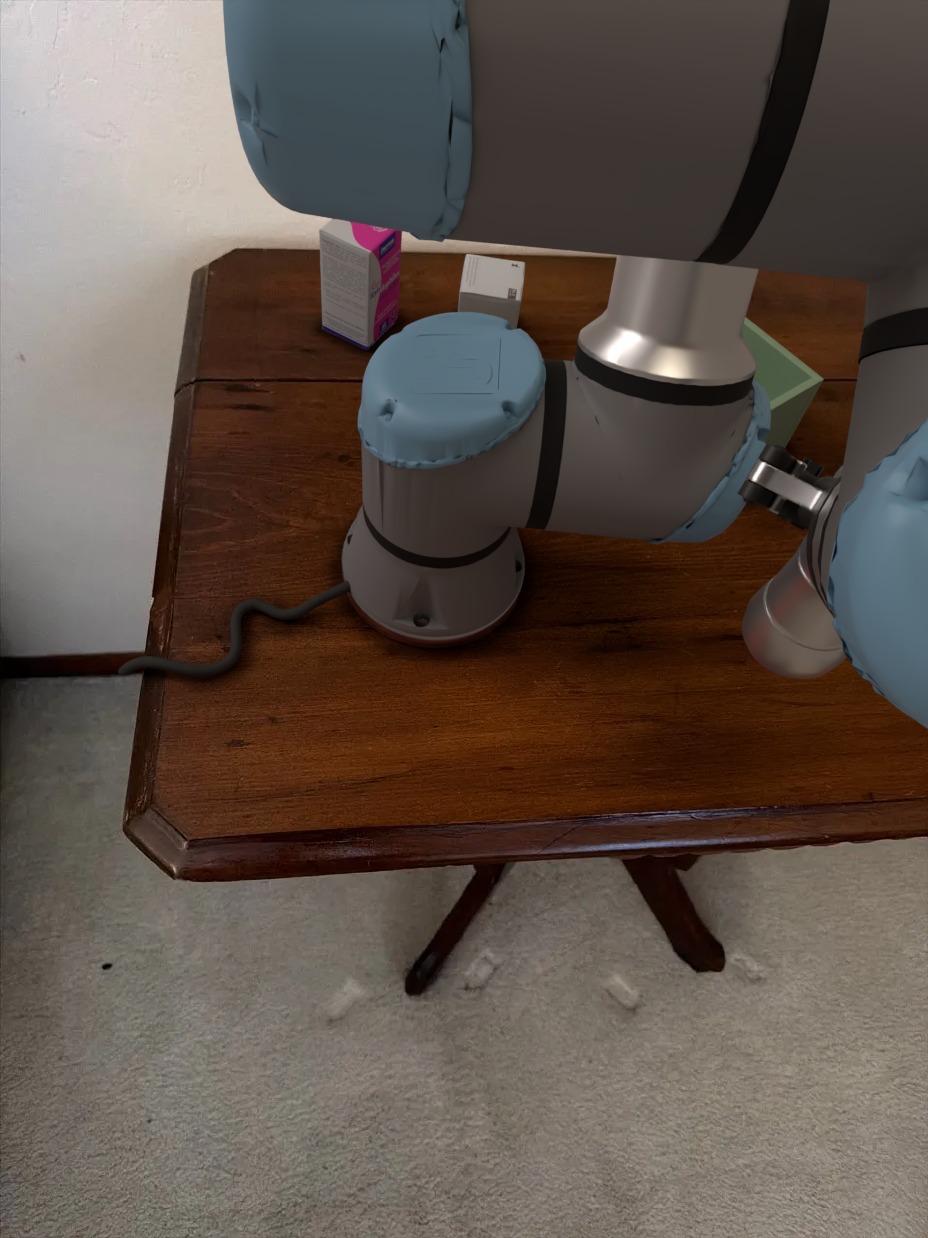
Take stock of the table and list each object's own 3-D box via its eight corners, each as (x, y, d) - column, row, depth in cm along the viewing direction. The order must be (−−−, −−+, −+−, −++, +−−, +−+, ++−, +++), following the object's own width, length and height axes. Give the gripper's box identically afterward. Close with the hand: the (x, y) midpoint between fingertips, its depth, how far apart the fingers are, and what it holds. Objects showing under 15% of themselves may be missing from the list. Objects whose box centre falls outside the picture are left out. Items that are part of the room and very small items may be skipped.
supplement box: (369, 353, 88) (369, 252, 79) (320, 329, 90) (314, 227, 80) (400, 321, 91) (403, 220, 81) (353, 299, 92) (350, 197, 83)
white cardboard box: (459, 313, 93) (465, 251, 86) (516, 320, 93) (526, 259, 86) (453, 352, 89) (458, 291, 83) (512, 360, 89) (522, 299, 83)
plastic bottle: (834, 702, 55) (1040, 499, 38) (728, 678, 56) (886, 466, 39) (832, 617, 59) (1020, 397, 42) (732, 595, 59) (879, 367, 42)
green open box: (687, 508, 81) (719, 439, 73) (590, 417, 86) (611, 344, 78) (784, 448, 86) (824, 378, 78) (687, 366, 91) (716, 293, 84)
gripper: (626, 515, 33) (682, 512, 55) (1142, 792, 29) (981, 670, 51) (730, 327, 31) (745, 401, 53) (1300, 594, 27) (1062, 555, 49)
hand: (860, 532), depth 52 cm, fingers closed on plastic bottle, 6 cm apart
